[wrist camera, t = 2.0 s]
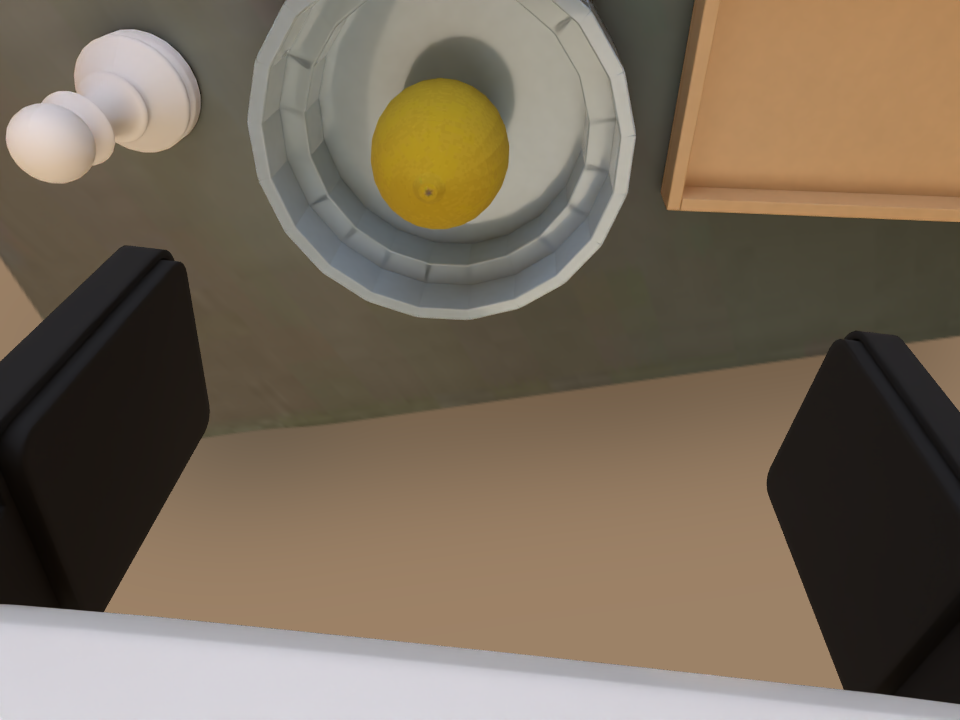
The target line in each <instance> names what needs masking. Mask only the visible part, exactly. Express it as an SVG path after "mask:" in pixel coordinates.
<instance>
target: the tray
mask: <svg viewBox="0 0 960 720" xmlns="http://www.w3.org/2000/svg"><path fill="white" fill-rule="evenodd" d="M661 195H662V198H663V200H664V203H665V206H666V209H667V210H681V211H701V212H726V213H751V214H776V215H800V216H825V217H850V218H874V219H899V220H924V221H948V222H960V0H695V1H694V7H693V13H692V18H691V24H690V29H689V35H688V41H687V46H686V52H685V58H684V63H683V69H682V75H681V80H680V86H679V92H678V97H677V103H676V109H675V114H674V120H673V126H672V131H671V137H670V142H669V148H668V154H667V159H666V165H665V171H664V176H663V182H662V188H661Z"/></svg>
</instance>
